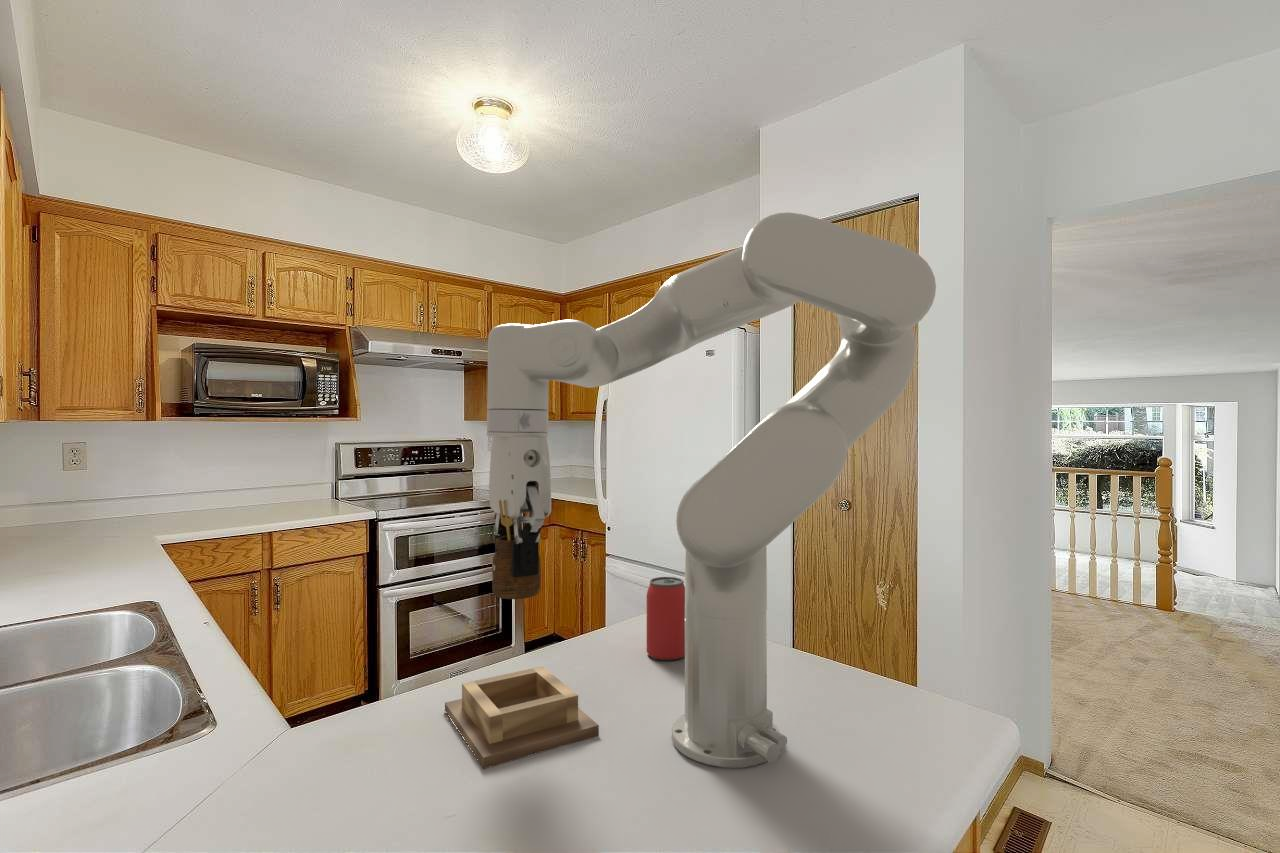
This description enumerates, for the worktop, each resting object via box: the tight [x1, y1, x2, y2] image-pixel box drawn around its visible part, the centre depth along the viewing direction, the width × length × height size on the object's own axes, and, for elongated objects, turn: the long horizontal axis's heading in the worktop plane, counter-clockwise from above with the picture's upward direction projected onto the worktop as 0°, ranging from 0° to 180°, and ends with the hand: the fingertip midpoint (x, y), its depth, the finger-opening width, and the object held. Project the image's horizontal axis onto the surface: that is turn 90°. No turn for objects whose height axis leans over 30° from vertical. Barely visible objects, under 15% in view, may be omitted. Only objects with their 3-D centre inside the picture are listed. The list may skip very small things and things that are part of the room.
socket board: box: [444, 666, 600, 769], centre depth 78 cm, size 16×14×4 cm
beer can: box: [646, 576, 685, 662], centre depth 101 cm, size 7×7×12 cm
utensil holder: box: [491, 500, 542, 600], centre depth 78 cm, size 6×6×12 cm
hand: (516, 569), depth 78 cm, fingers closed on utensil holder, 5 cm apart
